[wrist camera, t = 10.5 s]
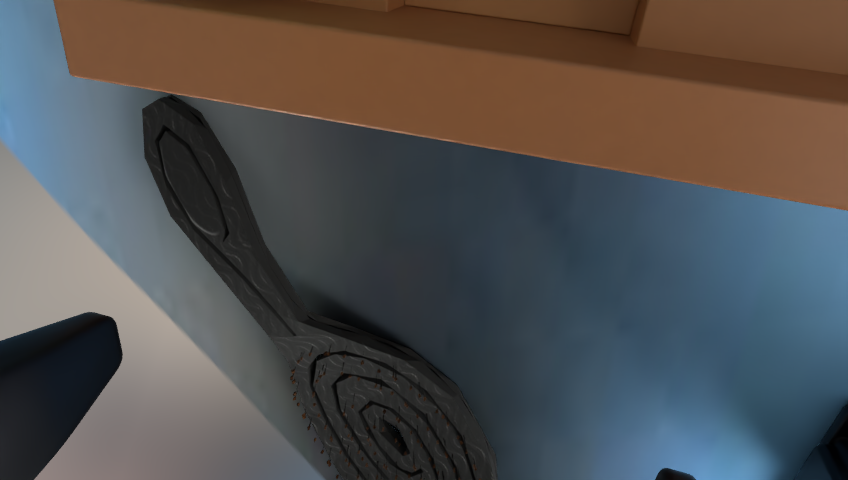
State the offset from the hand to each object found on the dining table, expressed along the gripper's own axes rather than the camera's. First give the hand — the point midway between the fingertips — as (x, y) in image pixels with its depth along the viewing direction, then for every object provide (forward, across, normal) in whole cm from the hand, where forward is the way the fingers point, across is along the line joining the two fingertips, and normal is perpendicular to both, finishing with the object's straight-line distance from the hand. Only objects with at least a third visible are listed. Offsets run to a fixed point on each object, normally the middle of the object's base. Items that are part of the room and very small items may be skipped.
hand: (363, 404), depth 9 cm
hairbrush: (+13, +5, +10) cm, 17 cm away
